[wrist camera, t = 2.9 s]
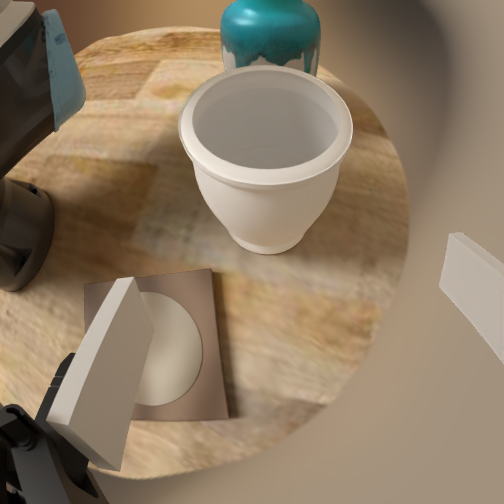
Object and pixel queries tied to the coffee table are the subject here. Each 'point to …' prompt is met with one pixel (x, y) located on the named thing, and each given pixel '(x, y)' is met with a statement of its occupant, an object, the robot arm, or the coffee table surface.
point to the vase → (271, 35)
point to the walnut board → (176, 346)
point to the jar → (266, 151)
